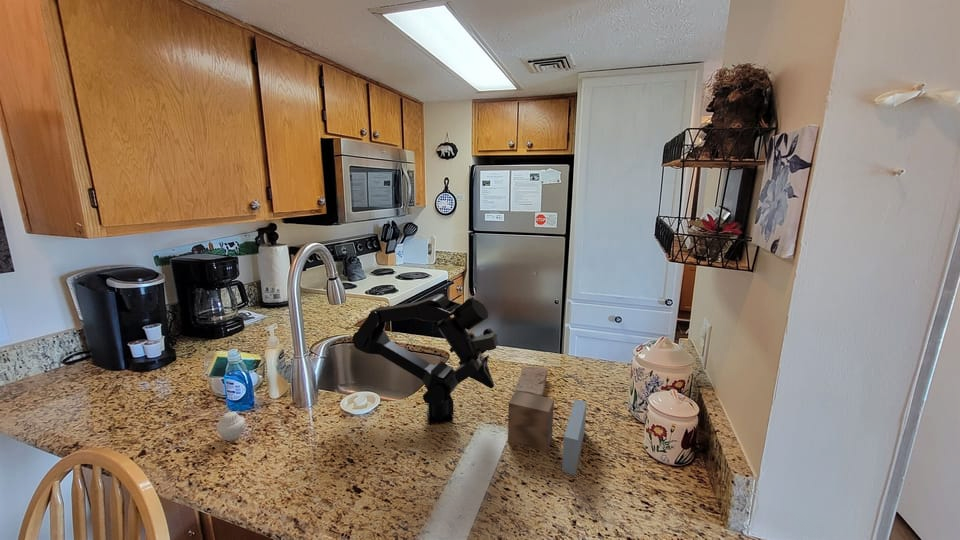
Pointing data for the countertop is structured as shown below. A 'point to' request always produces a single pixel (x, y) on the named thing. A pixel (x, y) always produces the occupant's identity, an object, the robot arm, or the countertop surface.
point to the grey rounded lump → (231, 426)
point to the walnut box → (530, 420)
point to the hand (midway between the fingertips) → (492, 387)
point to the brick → (532, 380)
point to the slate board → (574, 437)
